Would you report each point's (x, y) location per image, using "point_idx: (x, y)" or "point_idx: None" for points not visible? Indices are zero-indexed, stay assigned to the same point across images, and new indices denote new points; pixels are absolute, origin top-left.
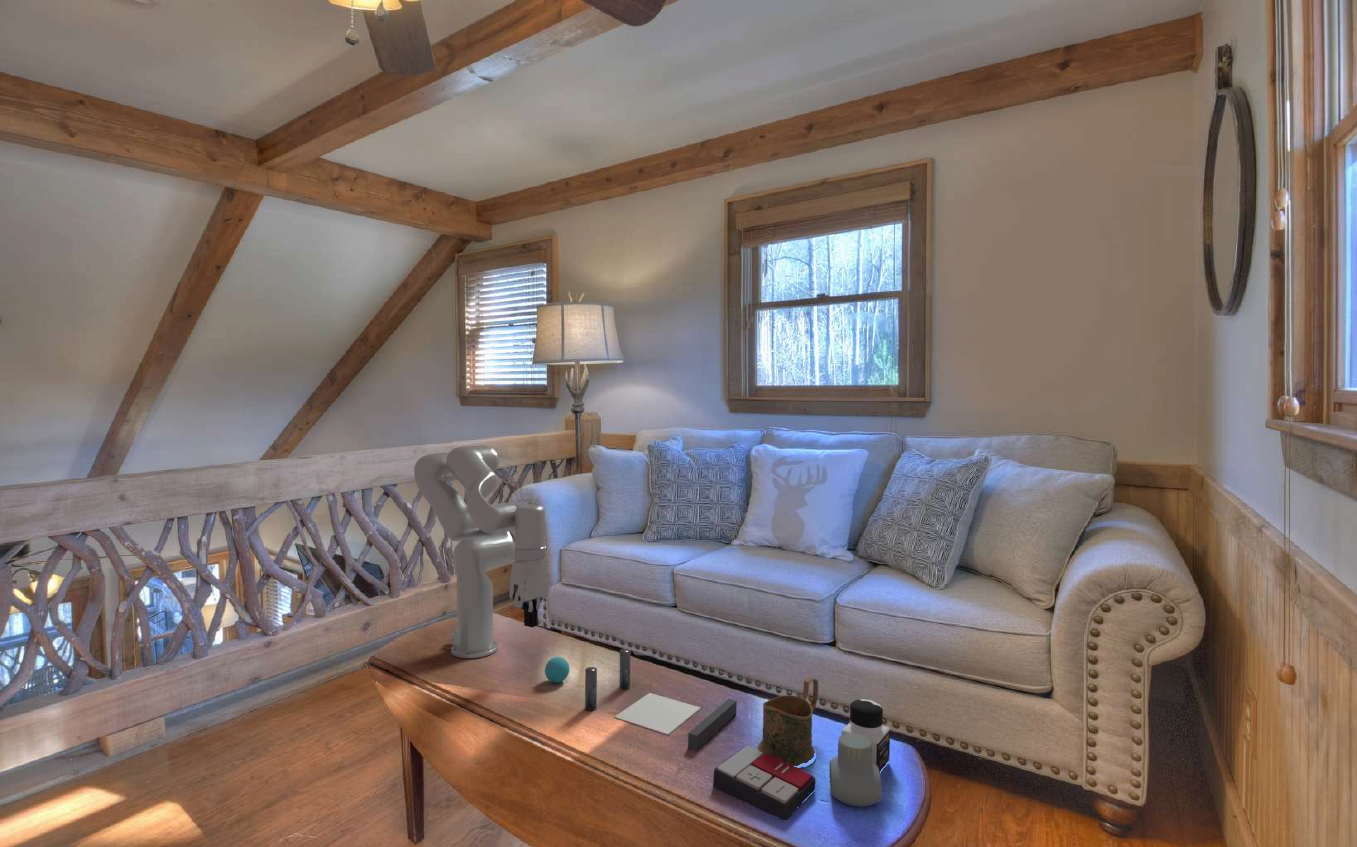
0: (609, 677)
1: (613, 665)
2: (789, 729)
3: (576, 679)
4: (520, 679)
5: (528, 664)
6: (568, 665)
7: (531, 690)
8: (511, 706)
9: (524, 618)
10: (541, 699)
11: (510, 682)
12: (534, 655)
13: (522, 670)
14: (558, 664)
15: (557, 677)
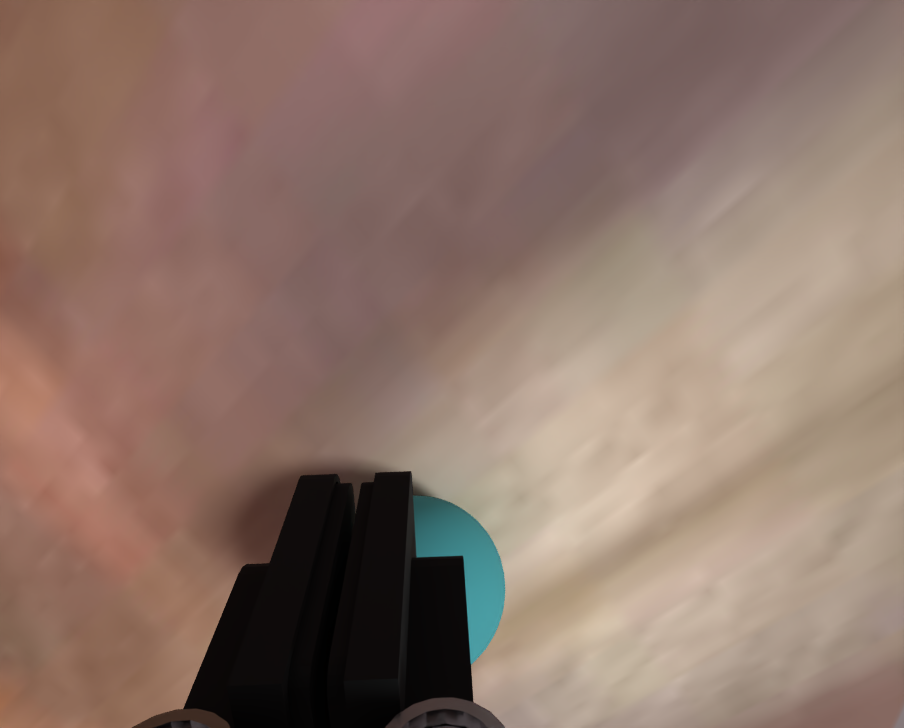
0: (639, 701)
1: (805, 629)
2: None
3: (514, 592)
4: (284, 317)
5: (529, 149)
6: None
7: (223, 495)
8: (4, 550)
9: (220, 619)
10: (188, 611)
11: (200, 296)
12: (721, 31)
13: (409, 203)
14: None
15: None
